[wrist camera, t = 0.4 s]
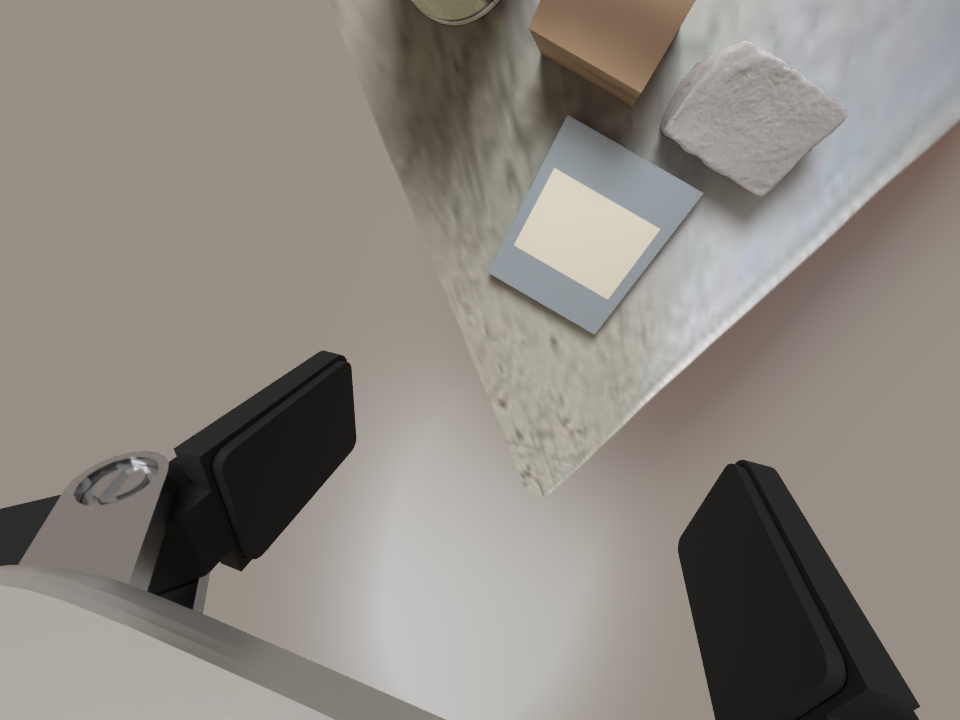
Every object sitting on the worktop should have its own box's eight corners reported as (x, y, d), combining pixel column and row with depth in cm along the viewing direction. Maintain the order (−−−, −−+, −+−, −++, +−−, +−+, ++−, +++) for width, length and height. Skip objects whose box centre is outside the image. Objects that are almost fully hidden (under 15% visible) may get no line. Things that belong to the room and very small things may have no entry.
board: (568, 116, 28) (567, 114, 27) (699, 192, 28) (703, 193, 27) (490, 269, 36) (487, 272, 35) (594, 329, 36) (594, 334, 35)
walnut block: (579, -33, 25) (574, -84, 19) (679, 25, 24) (702, -12, 19) (541, 54, 27) (529, 28, 22) (632, 107, 27) (641, 93, 22)
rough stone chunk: (664, 122, 30) (639, 123, 26) (732, 28, 25) (715, 12, 21) (763, 197, 28) (752, 210, 24) (857, 110, 23) (861, 109, 19)
